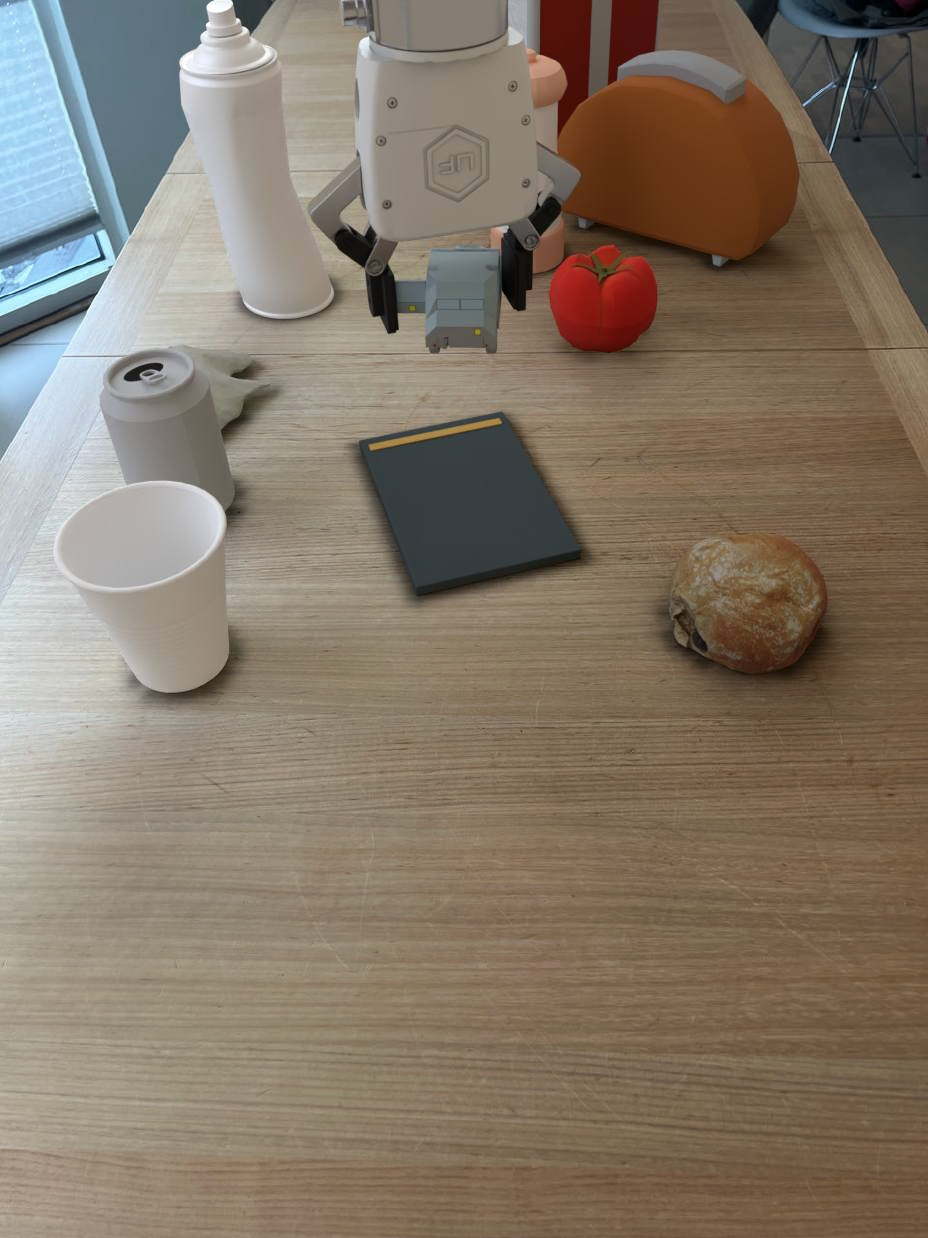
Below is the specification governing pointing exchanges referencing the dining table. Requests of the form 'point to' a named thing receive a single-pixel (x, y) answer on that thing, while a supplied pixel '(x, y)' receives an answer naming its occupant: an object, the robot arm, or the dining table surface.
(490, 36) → the robot arm
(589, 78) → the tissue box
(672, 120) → the toaster
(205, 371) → the crumpled beige cloth
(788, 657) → the bread roll
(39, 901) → the dining table surface
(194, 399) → the can
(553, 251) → the pepper shaker
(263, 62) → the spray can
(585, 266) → the tomato
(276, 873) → the dining table surface
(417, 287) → the toy car
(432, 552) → the mat
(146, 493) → the cup
